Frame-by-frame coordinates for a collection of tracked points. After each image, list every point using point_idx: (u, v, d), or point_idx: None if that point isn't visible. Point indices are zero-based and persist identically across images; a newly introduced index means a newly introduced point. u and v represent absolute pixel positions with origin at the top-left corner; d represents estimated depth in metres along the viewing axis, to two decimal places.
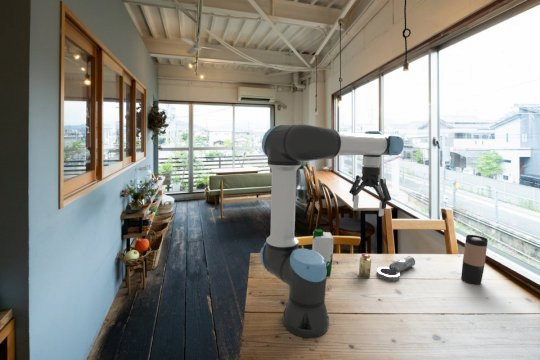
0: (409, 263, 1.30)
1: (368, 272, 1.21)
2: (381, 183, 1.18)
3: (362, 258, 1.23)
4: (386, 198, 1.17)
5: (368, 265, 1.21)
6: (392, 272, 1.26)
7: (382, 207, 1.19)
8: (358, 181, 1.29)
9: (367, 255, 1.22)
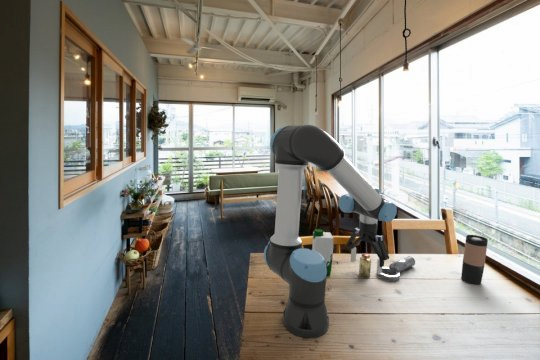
0: (409, 263, 1.30)
1: (368, 272, 1.21)
2: (379, 241, 1.16)
3: (362, 258, 1.23)
4: (384, 257, 1.14)
5: (368, 265, 1.21)
6: (392, 272, 1.26)
7: (380, 265, 1.17)
8: (355, 234, 1.26)
9: (367, 255, 1.22)
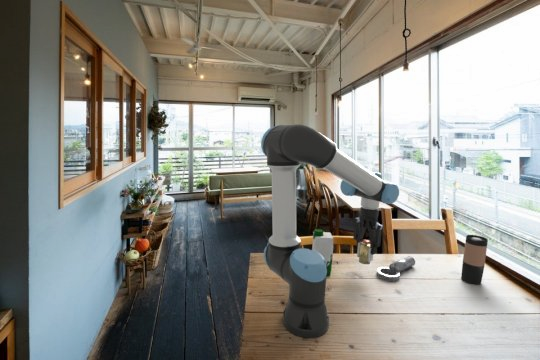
0: (409, 263, 1.30)
1: None
2: (377, 229, 1.15)
3: (362, 244, 1.22)
4: (375, 245, 1.16)
5: None
6: (392, 272, 1.26)
7: (371, 253, 1.19)
8: (358, 224, 1.25)
9: (367, 241, 1.21)
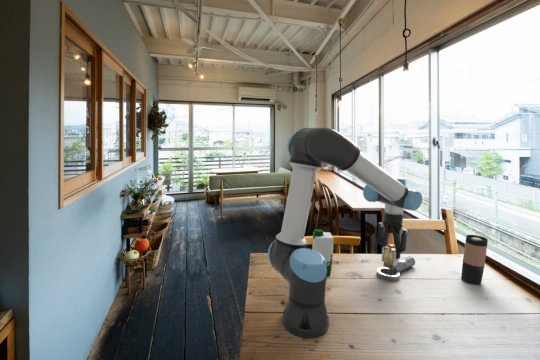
0: (409, 263, 1.30)
1: None
2: (403, 234, 1.16)
3: (387, 248, 1.23)
4: (401, 249, 1.17)
5: (393, 255, 1.21)
6: (392, 272, 1.26)
7: (396, 257, 1.20)
8: (381, 229, 1.25)
9: (392, 245, 1.22)
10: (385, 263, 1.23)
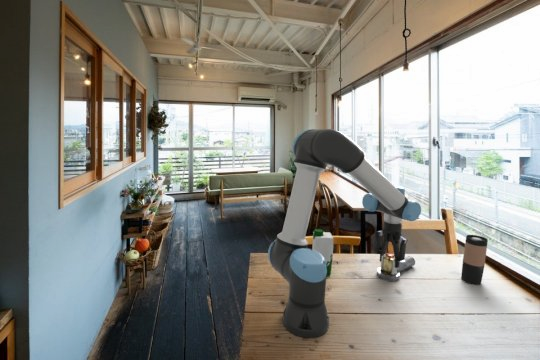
0: (409, 263, 1.30)
1: None
2: (402, 243, 1.17)
3: (386, 258, 1.24)
4: (400, 258, 1.18)
5: None
6: None
7: (395, 266, 1.20)
8: (381, 237, 1.26)
9: (391, 255, 1.23)
10: (384, 273, 1.23)
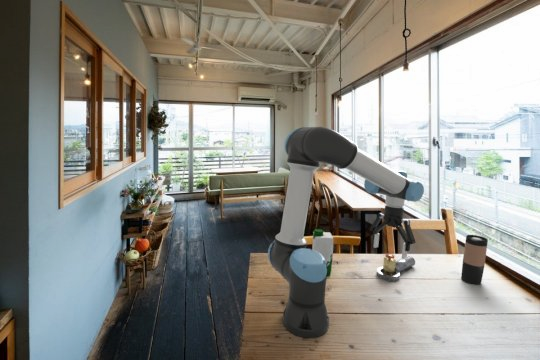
0: (409, 263, 1.30)
1: (392, 272, 1.22)
2: (405, 225, 1.15)
3: (386, 258, 1.24)
4: (410, 241, 1.13)
5: (392, 265, 1.21)
6: None
7: (406, 249, 1.16)
8: (379, 219, 1.26)
9: (391, 255, 1.23)
10: (384, 273, 1.23)
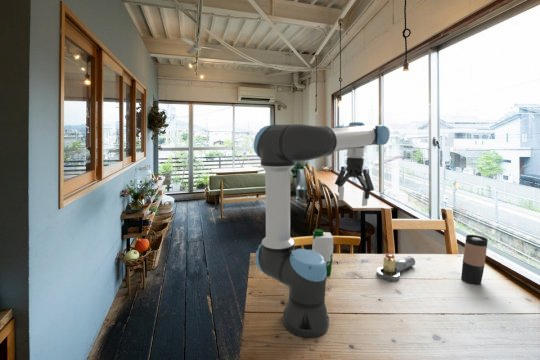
0: (409, 263, 1.30)
1: (392, 272, 1.22)
2: (364, 173, 1.20)
3: (386, 258, 1.24)
4: (369, 188, 1.19)
5: (392, 265, 1.21)
6: None
7: (365, 197, 1.21)
8: (343, 172, 1.31)
9: (391, 255, 1.23)
10: (384, 273, 1.23)
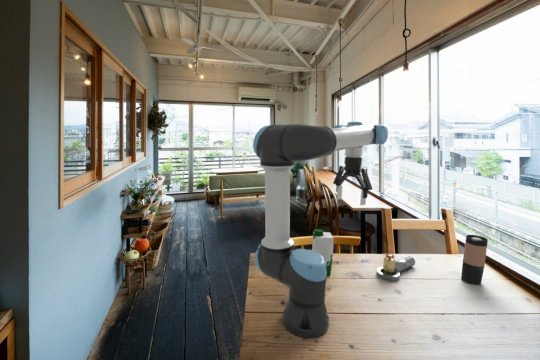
0: (409, 263, 1.30)
1: (392, 272, 1.22)
2: (362, 173, 1.21)
3: (386, 258, 1.24)
4: (367, 187, 1.19)
5: (392, 265, 1.21)
6: None
7: (363, 196, 1.22)
8: (341, 172, 1.32)
9: (391, 255, 1.23)
10: (384, 273, 1.23)
